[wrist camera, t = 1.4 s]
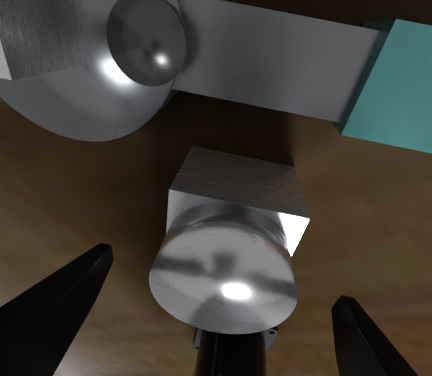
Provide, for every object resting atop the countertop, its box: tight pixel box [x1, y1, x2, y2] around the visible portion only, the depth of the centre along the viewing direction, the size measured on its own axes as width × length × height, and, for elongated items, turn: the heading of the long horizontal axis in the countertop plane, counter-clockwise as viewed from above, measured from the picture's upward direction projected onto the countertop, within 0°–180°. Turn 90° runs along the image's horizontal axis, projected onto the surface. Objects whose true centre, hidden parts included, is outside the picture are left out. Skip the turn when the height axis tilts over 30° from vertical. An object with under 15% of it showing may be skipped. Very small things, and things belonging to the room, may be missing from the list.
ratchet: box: [0, 0, 432, 153], centre depth 7 cm, size 20×8×6 cm, turn 81°
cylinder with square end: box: [149, 146, 310, 334], centre depth 11 cm, size 5×5×6 cm
